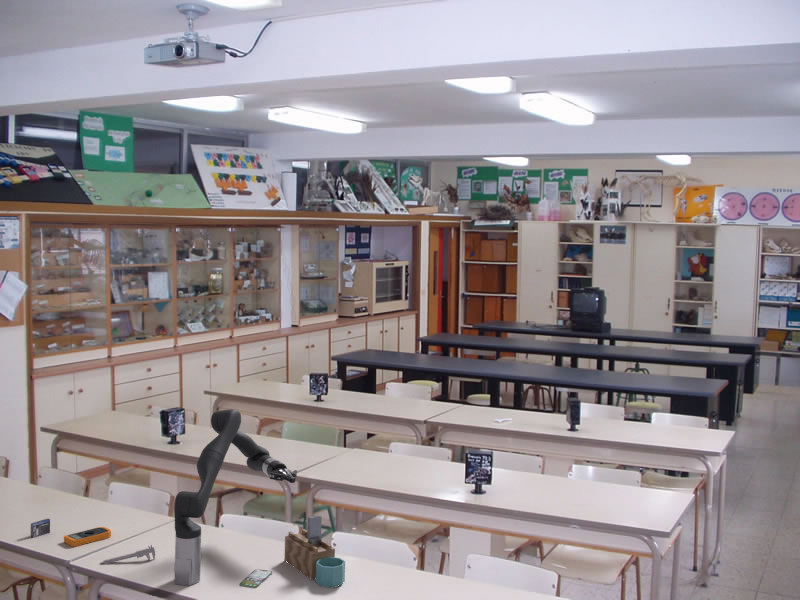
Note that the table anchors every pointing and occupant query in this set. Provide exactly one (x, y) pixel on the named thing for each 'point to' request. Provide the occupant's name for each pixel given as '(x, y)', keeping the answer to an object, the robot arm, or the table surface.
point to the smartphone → (256, 578)
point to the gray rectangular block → (314, 530)
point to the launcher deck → (305, 553)
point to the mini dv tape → (40, 528)
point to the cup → (330, 571)
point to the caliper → (133, 555)
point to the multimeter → (87, 536)
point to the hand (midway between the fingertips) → (293, 480)
